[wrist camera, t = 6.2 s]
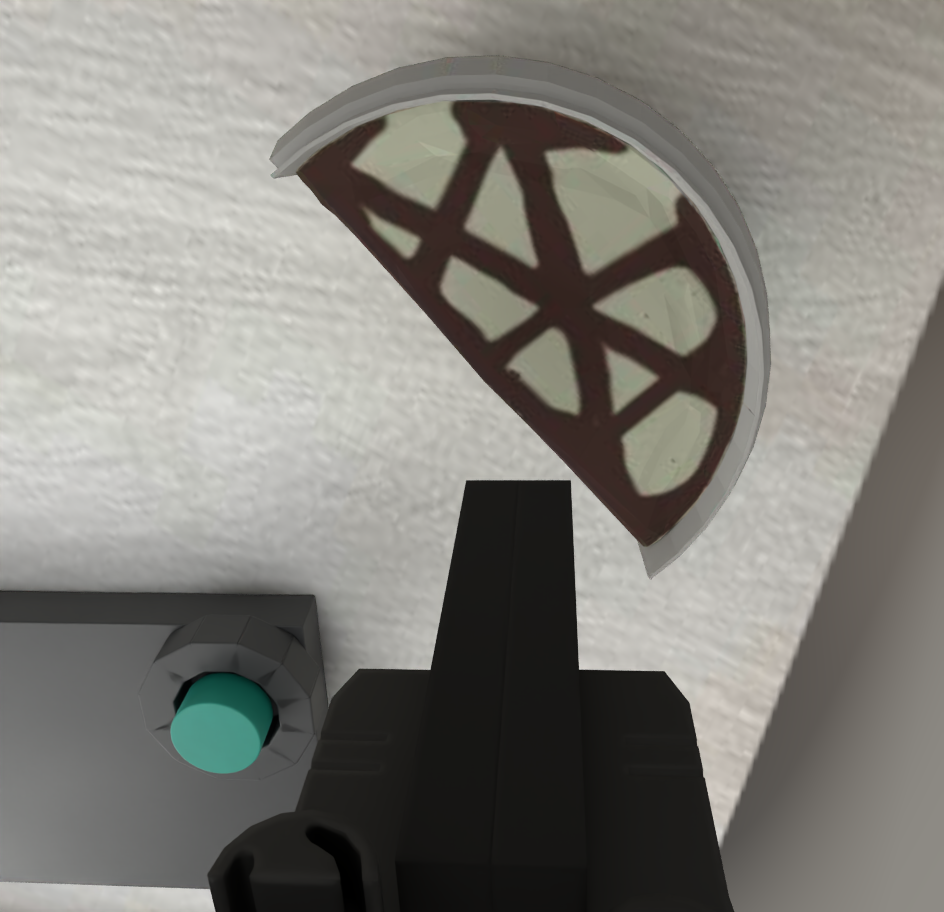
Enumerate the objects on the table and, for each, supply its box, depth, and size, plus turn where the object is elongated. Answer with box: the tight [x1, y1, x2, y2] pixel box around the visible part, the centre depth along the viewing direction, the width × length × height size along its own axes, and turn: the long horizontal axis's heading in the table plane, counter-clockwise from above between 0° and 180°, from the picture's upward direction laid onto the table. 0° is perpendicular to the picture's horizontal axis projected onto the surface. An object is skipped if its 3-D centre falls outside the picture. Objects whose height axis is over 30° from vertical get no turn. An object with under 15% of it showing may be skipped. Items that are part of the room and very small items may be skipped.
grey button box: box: [0, 591, 328, 889], centre depth 34 cm, size 16×14×4 cm
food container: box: [269, 56, 771, 579], centre depth 21 cm, size 12×6×10 cm, turn 42°
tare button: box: [171, 673, 273, 773], centre depth 30 cm, size 3×3×2 cm
